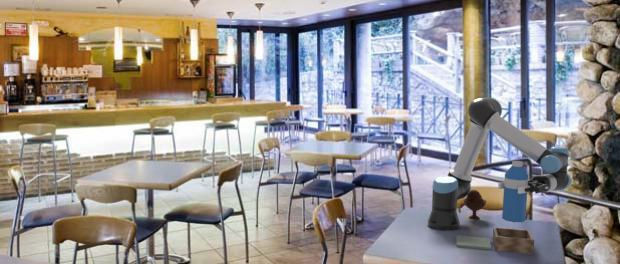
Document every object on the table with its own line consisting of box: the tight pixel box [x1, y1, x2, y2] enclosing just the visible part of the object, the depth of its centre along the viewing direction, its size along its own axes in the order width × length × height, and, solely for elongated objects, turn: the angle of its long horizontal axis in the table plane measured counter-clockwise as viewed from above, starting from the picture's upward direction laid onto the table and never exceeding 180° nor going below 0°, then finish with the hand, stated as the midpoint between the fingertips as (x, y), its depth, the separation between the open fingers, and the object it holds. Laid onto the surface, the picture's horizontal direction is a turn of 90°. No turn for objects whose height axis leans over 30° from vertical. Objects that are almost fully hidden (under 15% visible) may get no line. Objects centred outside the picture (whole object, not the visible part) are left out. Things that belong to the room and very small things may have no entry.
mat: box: [456, 235, 492, 251], centre depth 235 cm, size 14×14×1 cm
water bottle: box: [501, 160, 529, 223], centre depth 228 cm, size 9×9×25 cm
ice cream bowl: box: [463, 189, 487, 221], centre depth 276 cm, size 11×11×15 cm
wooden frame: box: [492, 226, 535, 255], centre depth 231 cm, size 15×15×6 cm
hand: (508, 188), depth 226 cm, fingers closed on water bottle, 9 cm apart
